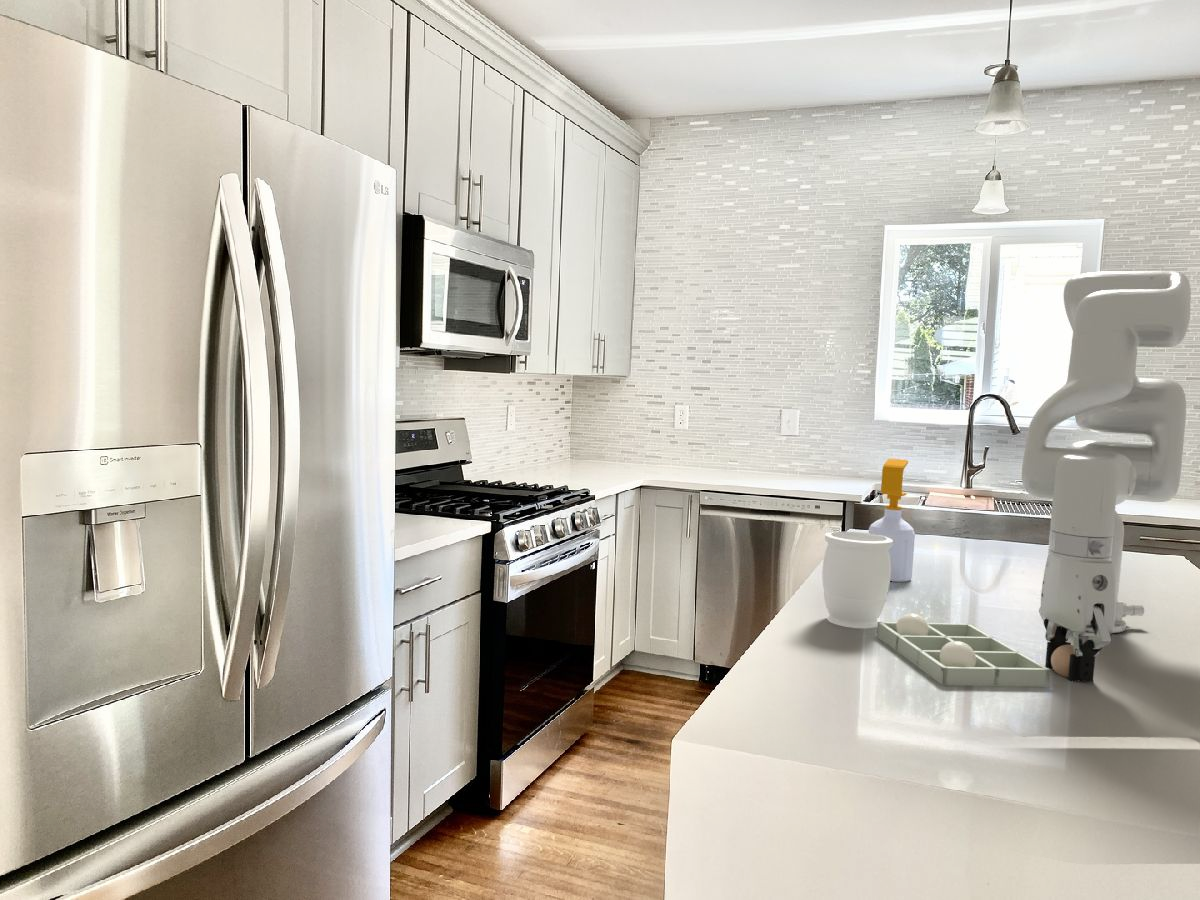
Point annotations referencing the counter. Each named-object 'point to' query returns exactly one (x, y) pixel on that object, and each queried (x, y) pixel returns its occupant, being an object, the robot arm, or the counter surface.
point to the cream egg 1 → (912, 625)
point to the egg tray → (992, 656)
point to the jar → (856, 577)
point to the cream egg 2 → (957, 655)
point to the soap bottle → (895, 522)
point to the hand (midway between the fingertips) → (1068, 675)
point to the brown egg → (1062, 659)
